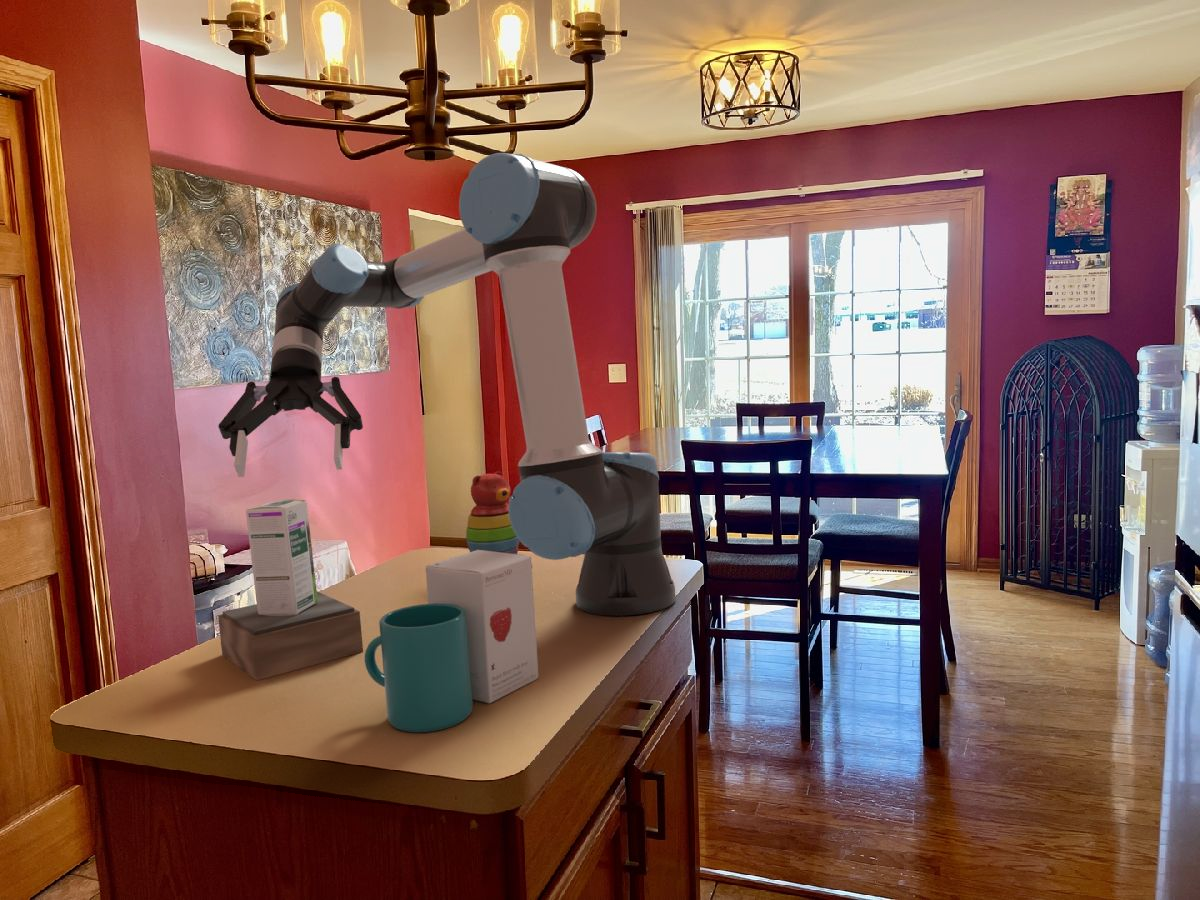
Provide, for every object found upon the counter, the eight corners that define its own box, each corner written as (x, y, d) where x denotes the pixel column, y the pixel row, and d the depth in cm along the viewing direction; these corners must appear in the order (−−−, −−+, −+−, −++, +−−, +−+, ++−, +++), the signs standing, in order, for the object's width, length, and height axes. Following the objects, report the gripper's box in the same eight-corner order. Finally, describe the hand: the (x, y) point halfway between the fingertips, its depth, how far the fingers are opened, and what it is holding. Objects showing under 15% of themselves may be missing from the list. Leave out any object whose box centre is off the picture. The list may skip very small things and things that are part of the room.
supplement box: (490, 705, 96) (480, 572, 94) (432, 691, 101) (422, 564, 100) (541, 678, 103) (533, 554, 102) (485, 666, 108) (476, 548, 107)
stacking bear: (486, 582, 150) (479, 479, 148) (455, 573, 158) (448, 475, 156) (537, 569, 157) (530, 471, 155) (505, 561, 164) (498, 467, 163)
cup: (393, 695, 101) (384, 600, 99) (487, 703, 97) (480, 604, 96) (346, 728, 92) (337, 625, 91) (448, 738, 88) (440, 630, 87)
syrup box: (297, 616, 114) (286, 506, 112) (255, 616, 115) (244, 507, 113) (318, 603, 119) (308, 498, 118) (279, 603, 121) (268, 499, 119)
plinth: (363, 651, 117) (359, 607, 116) (256, 680, 108) (251, 633, 107) (322, 629, 128) (318, 589, 127) (222, 654, 119) (217, 611, 118)
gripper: (380, 374, 143) (381, 476, 130) (219, 383, 139) (204, 490, 126) (374, 341, 138) (375, 444, 125) (207, 349, 134) (189, 457, 120)
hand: (289, 467), depth 125 cm, fingers open, 13 cm apart
